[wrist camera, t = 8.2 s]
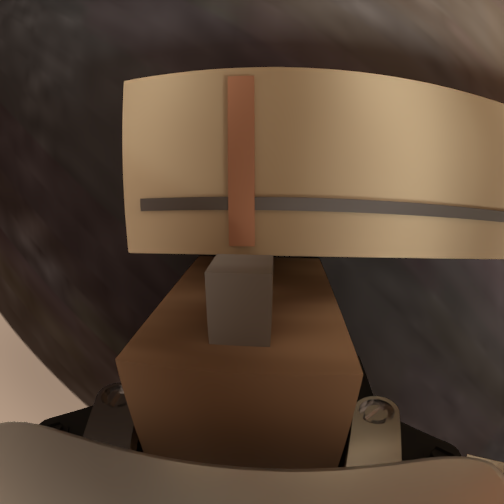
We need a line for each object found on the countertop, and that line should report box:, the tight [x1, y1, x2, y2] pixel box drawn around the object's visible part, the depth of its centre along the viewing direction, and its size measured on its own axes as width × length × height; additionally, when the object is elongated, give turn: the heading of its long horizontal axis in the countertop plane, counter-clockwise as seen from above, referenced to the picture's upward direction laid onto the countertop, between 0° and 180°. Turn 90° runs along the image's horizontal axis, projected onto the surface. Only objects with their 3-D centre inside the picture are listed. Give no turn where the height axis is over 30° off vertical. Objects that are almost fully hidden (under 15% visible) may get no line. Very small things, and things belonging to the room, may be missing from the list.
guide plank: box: [122, 67, 504, 259], centre depth 8 cm, size 20×4×4 cm, turn 90°
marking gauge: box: [115, 254, 363, 469], centre depth 9 cm, size 4×10×7 cm, turn 0°
